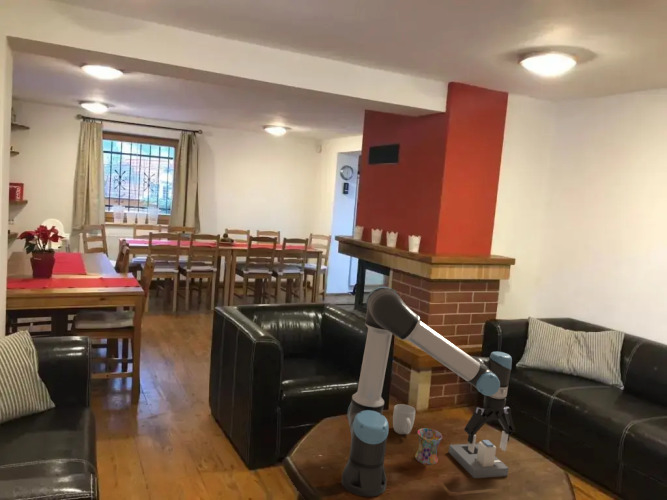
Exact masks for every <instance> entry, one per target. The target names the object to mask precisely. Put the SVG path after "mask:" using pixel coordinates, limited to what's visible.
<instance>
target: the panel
mask: <svg viewBox="0 0 667 500" xmlns="http://www.w3.org/2000/svg"><path fill="white" fill-rule="evenodd" d="M468 445H469V443H461V444H449V448H448V453H449V455H451V456H452V457H453V458H454V460H456V461H457V463H458V464H459V465H460V466H461V467H463V469H465V471H466V472H467V473H469V475H470V476H471V477H472V478H473V479H482V478H496V477H497V478H499V477H508V474H509V470H510V469H509V468H510V467H508V466H507V465H506V464H505V463H504V462H503V461H502V460H500V459H499V458H498V457H497V456H496V455H495V459H494V466H493V467H482V466H481V465H480V464H479V463H478V462H477V461H476V459H477V453H478V446H479V442H477V443H476V442H475V448H474V453H471V452H470V451H469V450H468Z"/></svg>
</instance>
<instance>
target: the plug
mask: <svg viewBox="0 0 667 500" xmlns="http://www.w3.org/2000/svg"><path fill="white" fill-rule="evenodd" d="M478 443H479V446H478V453H477V459H476V461H477V462H478V463H479V464H480V465H481V466H482V467H493V466H494V459H495V456H496V452H497V446H496V445H495V444H494V443H492V442H491V441H490V440H489V439H482V441H479V442H478Z"/></svg>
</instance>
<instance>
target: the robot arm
mask: <svg viewBox="0 0 667 500" xmlns="http://www.w3.org/2000/svg"><path fill="white" fill-rule="evenodd" d="M365 303H366V308H367V309H366V314H365V320H364V324H365V326H366V327H367V335H366V340H365V346H364V352H363V357H362V364H361V368H360V373H359V374H360V376H359V379H358V380H359V381H358V386H357V391H356V392H355V393H354V394H352V395H351V402H350V404H349V405H348V408H347V417H346V418H347V421H348V424H349V430H350V436H351V438H350V439H351V440H350V449H349V457H348V460H347V462H346V465H345V466H344V469H343V471H342V474H341V480H340V481H341V485H342V486H343V488H344V489H346V491H348V492H349V493H351V494H353V495H357V496H360V497H368V498H370V497H371V498H372V497H377V496H380V495H382V494H383V493H384V492H385V491H386V489H387V476H386V471H385V456H386V449H387V442H388V435H389V429H390V428H389V421H388V419H387V418H386V416H385V415H383V412H384V406H385V400H384V399H383V397H382V393H383V388H384V382H385V375H386V369H387V365H388V359H389V353H390V349H391V348H390V347H391V342H392V337H393V335H395V337H397V338H398V339H400V340H402V341H405V340H407V341H408V342H410V343H411V344H413V345H414V346H416V347H417V348H419V349H420V350H421V351H423V352H424V353H426V354H427V355H429V356H430V357H432V358H433V359H434V360H436V361H437V362H439V363H440V364H442V366H444V367H446V368H447V369H449V370H450V371H452V372H453V373H454V374H456V375H457V377H460V378H461V379H463V380H465V381H466V382H467V383H468V384H470V385H471V386H473V387H475V388H476V389H477V392H479V393H481V395H483V407H479V406H475V407H474V408H475V409H474V412H473V414H472V416H471V417H470V419H469V420H468V422H467V424H466V425H465V427H464V429H463V430H464V431H465V433H466V434H468V436H467V443H468V444H469V445H468V450H469V451H470V452H471V453H474V448H475V444H476V442H477V435H476V434H477V433H478V432H479V430H480V429H481V428H482V427H483V426H484V425H485V424H486V423H488V422H490V421H491V422H492V421H495V422H496V421H498V422H499V424H500V425H501V428H502V429H503V430H502V431H501V436H500V443H499V448H500V449H501V450H502V451H503V452H506V451H507V445H508V442H509V441H510V436H512V435H513V433H515V432H516V431H517V430H516V427H515V424H514V420H513V417H512V409H511V408H510V407H509V406H507V405H506V402H507V398H506V397H507V395H508V388H509V382H510V378H511V377H510V376H511V370H512V365H513V363H512V362H513V359H512V358H513V357H512V356H511V355H510V354H509V353H506V352H503V351H492V352H491V353H490V355H489V357H486V356H483V357H482V356H473V355H469V354H468V353H466V352H465V351H464V350H462V349H461V348H459V347H458V346H456V345H455V344H454V343H452V342H451V341H449V340H448V339H447V338H445V337H443V335H442V334H440V333H438V332H437V331H435V330H434V329H432V328H431V327H430V326H429V325H427V324H426V323H424V322H422V321H421V320H420V319H421V318H420V316H419V315H418V314H417V313H415V311H413V310H412V309H411V308H410V307H409V306H408V305H407V304H406V303H405V302H404V301H403V299H402V298H401V297H400V295H399V293H398V292H397V291H396V290H395V289H393V288H391V287H388V286H378V287H376V288H374V289H372V290H371V291H370V293H369V294H368V296H367V299H366V302H365ZM503 414H504V417H505V419H504V417H503ZM505 420H506V421H505Z"/></svg>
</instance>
